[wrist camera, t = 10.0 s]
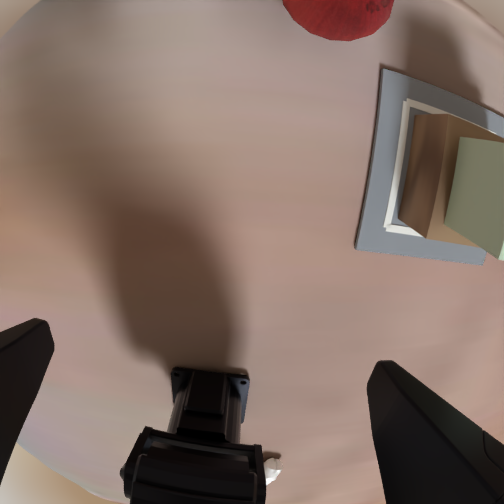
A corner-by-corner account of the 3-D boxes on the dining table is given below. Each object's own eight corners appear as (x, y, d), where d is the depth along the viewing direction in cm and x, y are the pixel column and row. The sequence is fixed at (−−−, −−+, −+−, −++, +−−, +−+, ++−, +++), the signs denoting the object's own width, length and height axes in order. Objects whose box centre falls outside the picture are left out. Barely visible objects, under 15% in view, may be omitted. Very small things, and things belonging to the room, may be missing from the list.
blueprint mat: (480, 263, 20) (482, 265, 20) (354, 247, 20) (356, 250, 19) (508, 121, 16) (512, 122, 15) (381, 69, 15) (383, 68, 15)
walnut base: (471, 232, 19) (503, 252, 15) (397, 218, 19) (426, 238, 15) (488, 142, 16) (524, 149, 13) (414, 114, 16) (448, 113, 12)
